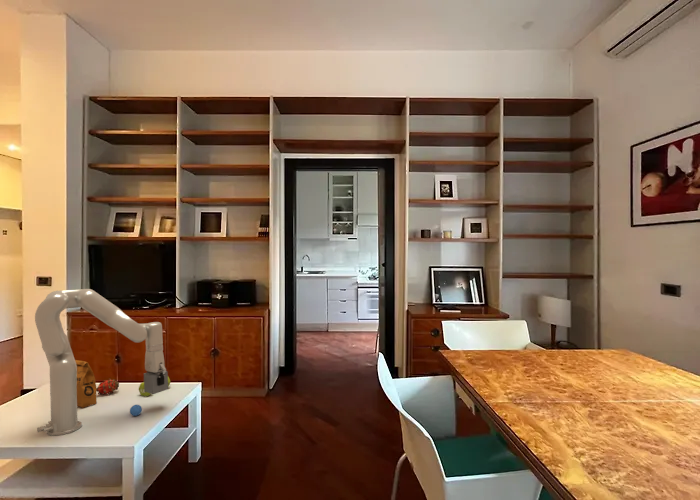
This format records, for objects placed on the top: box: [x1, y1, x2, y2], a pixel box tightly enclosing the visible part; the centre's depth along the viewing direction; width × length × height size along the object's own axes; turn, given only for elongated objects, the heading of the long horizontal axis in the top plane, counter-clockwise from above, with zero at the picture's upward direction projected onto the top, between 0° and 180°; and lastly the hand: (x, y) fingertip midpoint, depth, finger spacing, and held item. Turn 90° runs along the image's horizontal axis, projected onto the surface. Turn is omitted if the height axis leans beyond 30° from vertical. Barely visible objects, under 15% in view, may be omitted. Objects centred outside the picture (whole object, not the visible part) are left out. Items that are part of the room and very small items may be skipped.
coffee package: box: [75, 359, 97, 409], centre depth 209 cm, size 10×12×22 cm
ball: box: [129, 404, 143, 417], centre depth 194 cm, size 5×5×5 cm
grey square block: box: [143, 370, 169, 395], centre depth 202 cm, size 8×8×9 cm
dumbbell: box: [138, 376, 171, 397], centre depth 226 cm, size 16×8×7 cm, turn 158°
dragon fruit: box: [96, 378, 120, 396], centre depth 223 cm, size 8×8×12 cm
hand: (156, 383), depth 202 cm, fingers closed on grey square block, 7 cm apart
